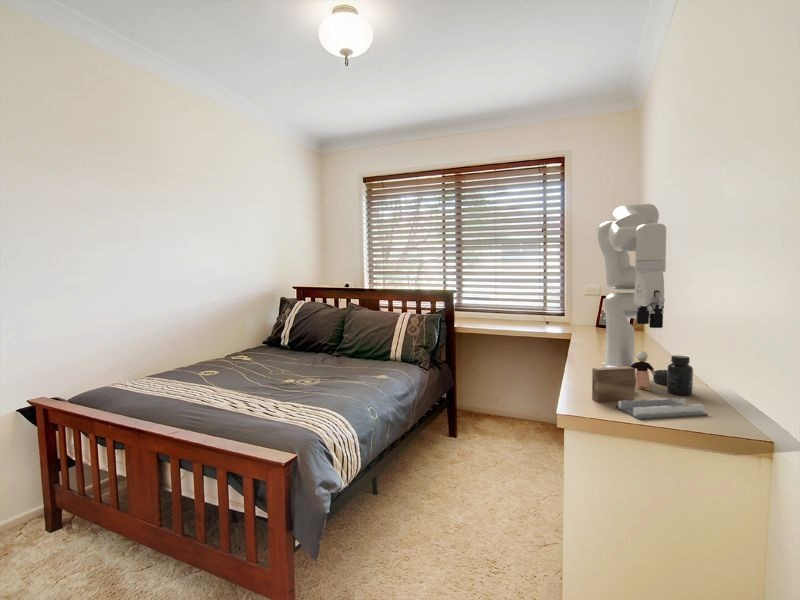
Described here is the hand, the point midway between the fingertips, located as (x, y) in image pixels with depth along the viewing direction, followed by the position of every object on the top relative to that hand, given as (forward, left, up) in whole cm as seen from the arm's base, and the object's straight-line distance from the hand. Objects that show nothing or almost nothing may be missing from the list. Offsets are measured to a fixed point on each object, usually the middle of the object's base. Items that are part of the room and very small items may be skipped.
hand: (649, 325), depth 120 cm
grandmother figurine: (-16, +10, -24) cm, 30 cm away
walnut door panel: (-6, -7, -24) cm, 25 cm away
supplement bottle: (-9, +18, -24) cm, 31 cm away
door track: (+6, -1, -24) cm, 24 cm away
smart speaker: (-21, +24, -24) cm, 40 cm away
